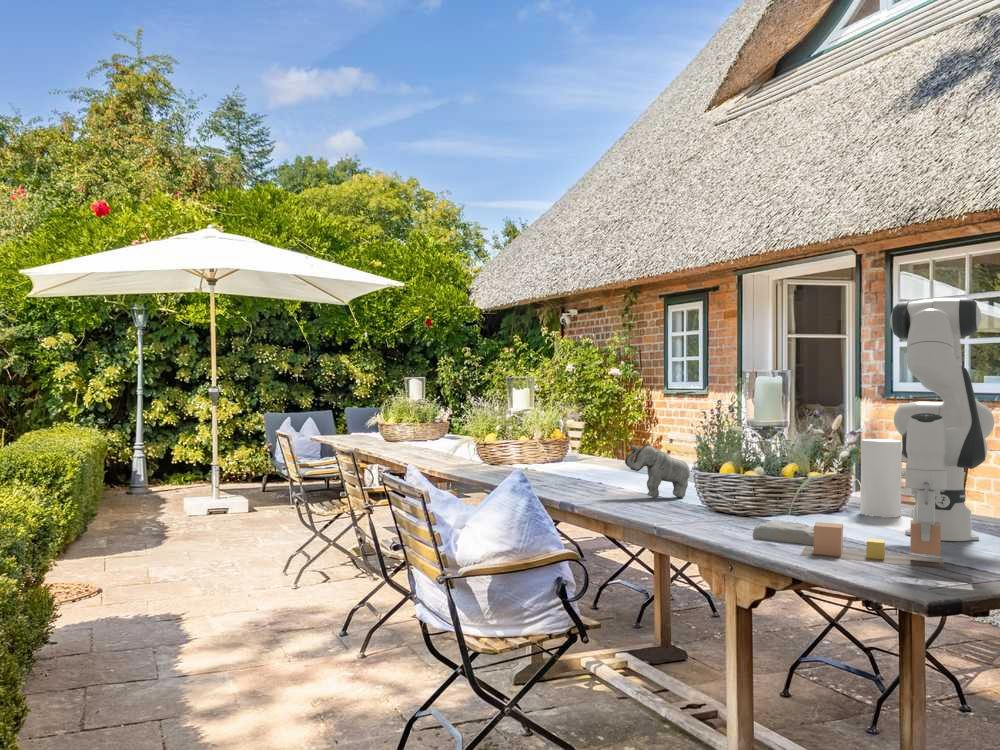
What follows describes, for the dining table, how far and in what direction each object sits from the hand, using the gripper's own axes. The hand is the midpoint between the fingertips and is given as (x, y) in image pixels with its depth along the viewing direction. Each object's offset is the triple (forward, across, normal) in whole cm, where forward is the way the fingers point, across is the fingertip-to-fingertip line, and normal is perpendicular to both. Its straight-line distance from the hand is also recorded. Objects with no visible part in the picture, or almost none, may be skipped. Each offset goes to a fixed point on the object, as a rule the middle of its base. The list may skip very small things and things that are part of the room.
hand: (925, 538), depth 207 cm
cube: (+6, 0, +11) cm, 12 cm away
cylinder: (+7, +84, +12) cm, 85 cm away
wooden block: (+3, 0, 0) cm, 3 cm away
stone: (+7, +16, +33) cm, 37 cm away
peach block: (+6, 0, +22) cm, 23 cm away
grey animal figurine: (+7, +85, +89) cm, 123 cm away
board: (+7, 0, +12) cm, 14 cm away
